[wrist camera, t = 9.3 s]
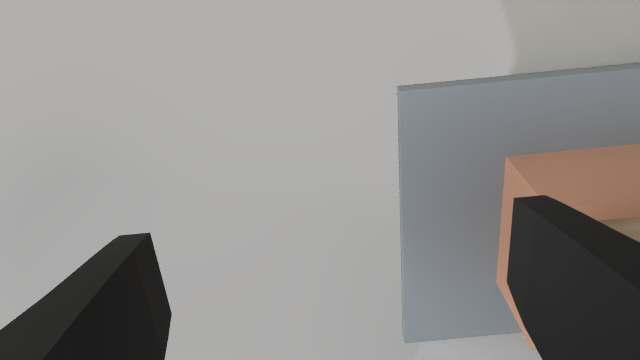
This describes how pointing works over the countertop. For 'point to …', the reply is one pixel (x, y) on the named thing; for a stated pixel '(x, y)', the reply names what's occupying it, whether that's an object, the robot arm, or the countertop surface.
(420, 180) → the baseplate
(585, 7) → the countertop surface
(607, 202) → the base block
